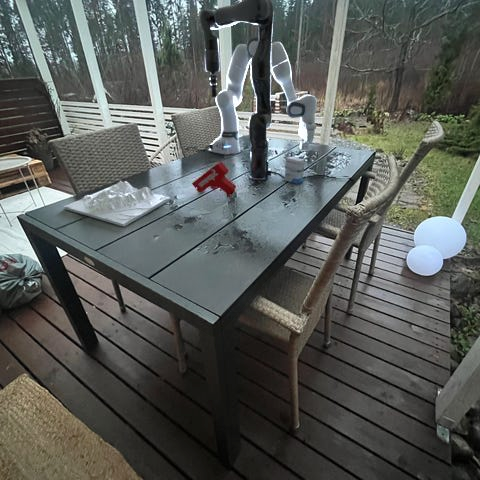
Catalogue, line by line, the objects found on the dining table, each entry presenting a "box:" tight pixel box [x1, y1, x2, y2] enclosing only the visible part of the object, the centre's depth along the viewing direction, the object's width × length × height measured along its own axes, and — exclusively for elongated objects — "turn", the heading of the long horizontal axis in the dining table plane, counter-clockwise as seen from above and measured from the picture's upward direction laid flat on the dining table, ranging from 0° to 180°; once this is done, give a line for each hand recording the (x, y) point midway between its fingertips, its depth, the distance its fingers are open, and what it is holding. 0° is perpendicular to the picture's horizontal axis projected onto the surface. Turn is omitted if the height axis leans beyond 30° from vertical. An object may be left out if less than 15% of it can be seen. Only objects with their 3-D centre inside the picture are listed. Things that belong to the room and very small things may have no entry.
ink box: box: [284, 156, 306, 185], centre depth 140 cm, size 8×5×12 cm, turn 47°
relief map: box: [63, 179, 171, 227], centre depth 119 cm, size 27×35×5 cm
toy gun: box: [191, 161, 237, 197], centre depth 128 cm, size 18×4×15 cm
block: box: [298, 140, 310, 151], centre depth 179 cm, size 4×5×5 cm
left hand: (304, 146), depth 179 cm, fingers closed on block, 4 cm apart
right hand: (214, 96), depth 148 cm, fingers open, 8 cm apart
